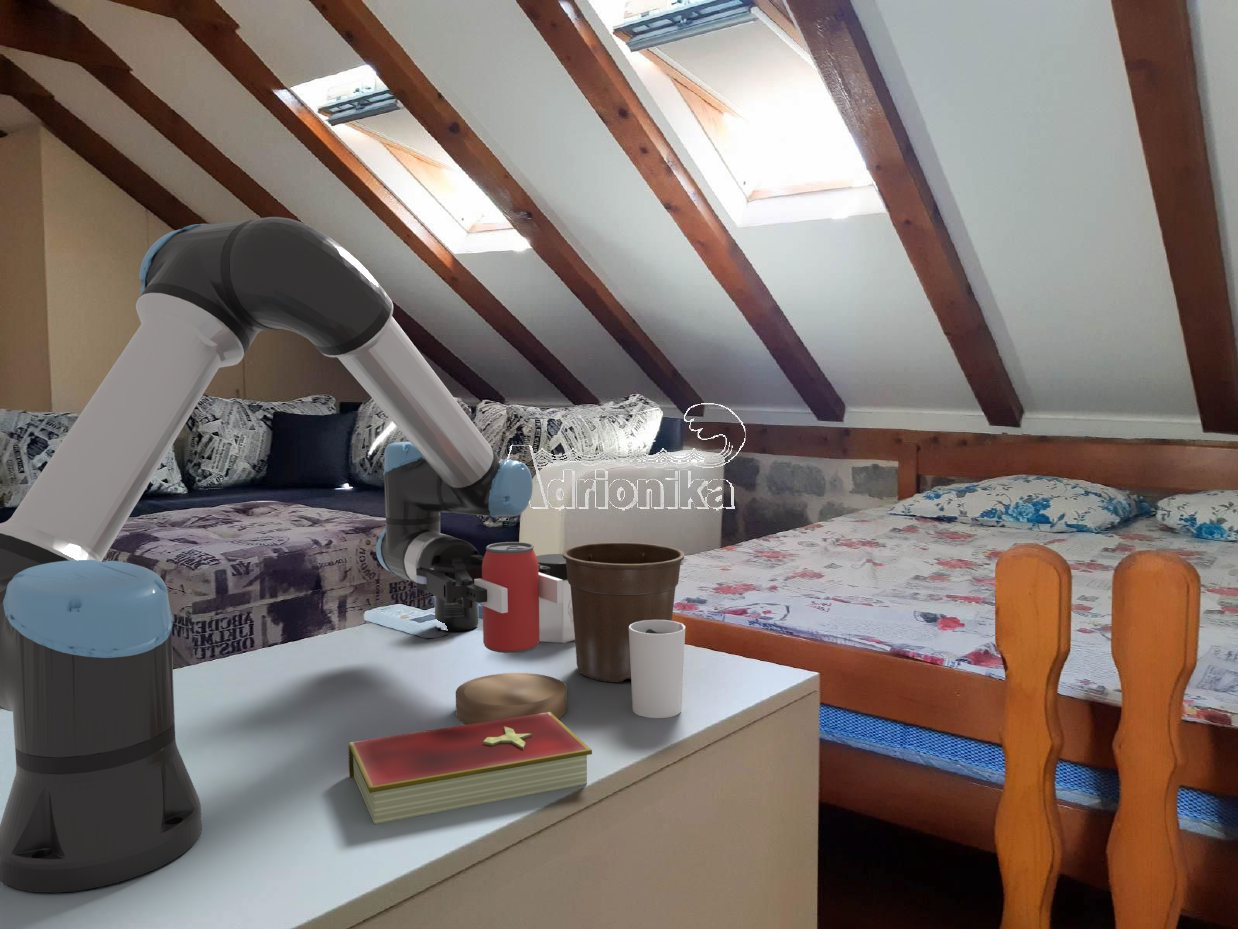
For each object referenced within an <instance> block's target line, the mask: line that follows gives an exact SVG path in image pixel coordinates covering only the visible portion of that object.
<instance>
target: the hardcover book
mask: <svg viewBox="0 0 1238 929" xmlns="http://www.w3.org/2000/svg"><path fill="white" fill-rule="evenodd" d="M589 755H593V749H591V748H590V747H589V746H588V745H587V744H586V743H585V742H584V741H583V740H582V739H581V738H580V737H578V736H577V734H575V733H574V732H573V731H572V730H570V728H569V727H567V726H566V725H565V724H564V723H563V722H562V721H561V720H560V719H557V718H556V717H555V716H554V715H553V714H552V713H551V712H547V713H540V714H534V715H527V716H521V717H514V718H508V719H501V720H494V721H488V722H481V723H475V724H468V725H467V724H462V725H456V726H449V727H443V728H436V729H430V730H429V729H428V730H425V731H423V730H422V731H417V732H409V733H404V734H397V735H396V734H395V735H389V736H382V737H378V738H377V737H376V738H370V739H363V740H357V741H352V742H351V741H350V742H348V774H349V778H350V779H352V778H354V781H355V783H356V786H357V788H358V789H359V792H360V795H361V797H362V799H363V801H364V804H365V807H366V809H367V812H368V814H369V816H370V818H371V820H372V822H373V825H377V824H383V823H388V822H394V821H398V820H404V819H409V818H415V817H420V816H424V815H425V816H426V815H430V814H435V813H440V812H446V811H451V810H452V811H453V810H456V809H461V808H467V807H471V806H472V807H473V806H478V805H482V804H488V803H489V804H490V803H494V802H498V801H502V800H503V801H504V800H509V798H510V799H514V798H520V797H524V796H530V794H531V795H534V794H535V795H537V794H541V793H546V792H550V791H556V790H563V789H567V788H572V787H579V786H582V785H583V786H584V785H587V783H588V776H587V775H588V769H587V768H588V756H589Z"/></svg>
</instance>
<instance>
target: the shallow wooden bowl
mask: <svg viewBox="0 0 1238 929" xmlns="http://www.w3.org/2000/svg"><path fill="white" fill-rule="evenodd" d="M567 689H568V688H567V685H566V684H565V683H564V682H563V681H562V680H560V679H557V678H555V677H552V676H550V675H545V674H539V673H530V672H529V673H528V672H509V673H508V672H507V673H506V672H505V673H504V672H503V673H497V674H491V675H490V674H489V675H484V676H480V677H476V678H473V679H470V680H468V681H466V682H463V683H462V684H460V685H459V686H458V687H457V688H456V690H455V716H456V718H457V719H458V720H459V721H460V722H461V723H464V725H468V724H475V723H481V722H488V721H494V720H501V719H508V718H514V717H521V716H527V715H534V714H540V713H547V712H551V713H552V714H553V715H554V716H555V717H556V718H557V719H559V720H560V719H562V718H563V717H564V716H565V715H566V713H567V710H568V709H567V708H568V706H567V703H568V701H567V700H568V697H567V694H568V693H567Z"/></svg>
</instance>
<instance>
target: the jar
mask: <svg viewBox="0 0 1238 929" xmlns="http://www.w3.org/2000/svg"><path fill="white" fill-rule="evenodd" d="M536 557H537V560H538V564H540V565H542V566H547V567H549V568H550V576H552V577H555V578H559V579H562V580H563V603H559V604H557V603H554V602H551V601H548V600H545V599H543V598H540V597H539V629H540V641H539V642H542V643H551V644H552V643H554V644H565V643H570V642H573V641H574V642H575V634H574V621H573V609H572V598H571V586H570V584H569V583H568V577H567V567H566V559H564V558H563V555H562V553H549V554H540V555H536Z"/></svg>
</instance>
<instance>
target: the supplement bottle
mask: <svg viewBox="0 0 1238 929" xmlns="http://www.w3.org/2000/svg"><path fill="white" fill-rule="evenodd" d="M479 614H480V613H479V604H478V603H475V602H474V601H473V607H472V608H463V601H462V599H461V598H456V602H453V603H447V602H445V601H443V600H442V599H440V598H438V597H436V596H435V595H434V619H437V620H438V621H440V622H442V623H445V625H446V626H447V629H448V631H447V632H450V633H451V632H454V633H455V632H465V631H470V630H473V629H475V628H477V627H478V626H479V623H480V622H479V619H480V617H479Z"/></svg>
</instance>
